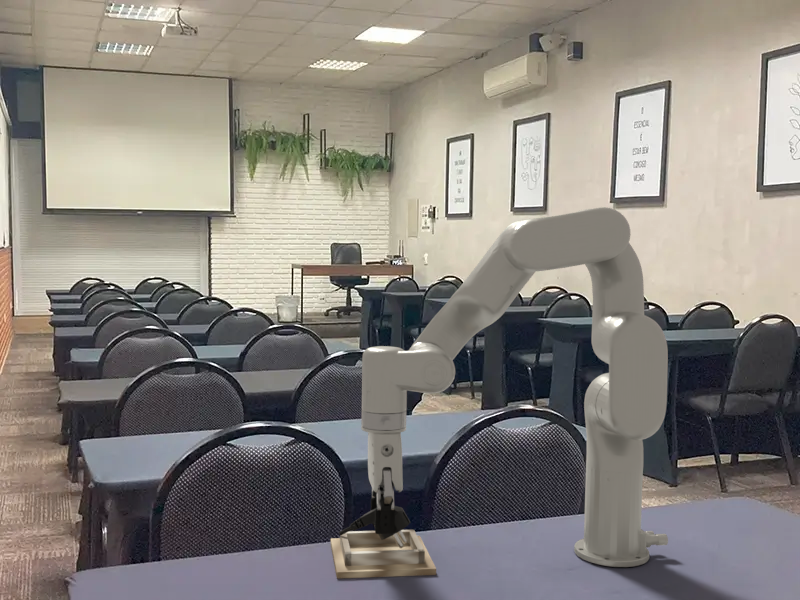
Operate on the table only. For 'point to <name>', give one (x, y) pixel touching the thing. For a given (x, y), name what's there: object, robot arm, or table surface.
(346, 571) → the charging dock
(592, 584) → the table surface
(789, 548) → the table surface
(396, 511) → the power plug
